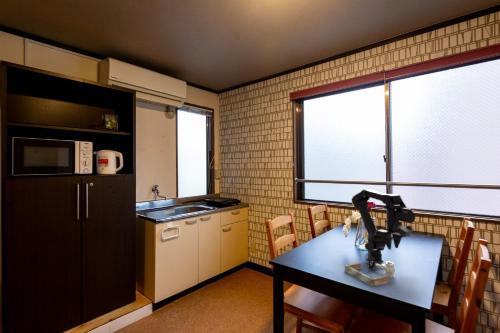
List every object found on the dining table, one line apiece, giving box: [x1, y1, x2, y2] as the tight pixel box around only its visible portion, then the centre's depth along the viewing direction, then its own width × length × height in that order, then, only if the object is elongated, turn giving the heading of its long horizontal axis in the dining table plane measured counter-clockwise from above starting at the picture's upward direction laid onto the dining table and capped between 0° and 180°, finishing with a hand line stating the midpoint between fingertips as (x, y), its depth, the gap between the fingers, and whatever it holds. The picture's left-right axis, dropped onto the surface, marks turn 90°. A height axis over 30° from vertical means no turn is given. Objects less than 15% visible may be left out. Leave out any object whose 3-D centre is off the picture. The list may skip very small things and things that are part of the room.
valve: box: [366, 257, 396, 279], centre depth 123 cm, size 7×7×12 cm
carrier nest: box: [344, 262, 390, 288], centre depth 119 cm, size 17×10×3 cm, turn 22°
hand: (393, 248), depth 126 cm, fingers open, 5 cm apart
